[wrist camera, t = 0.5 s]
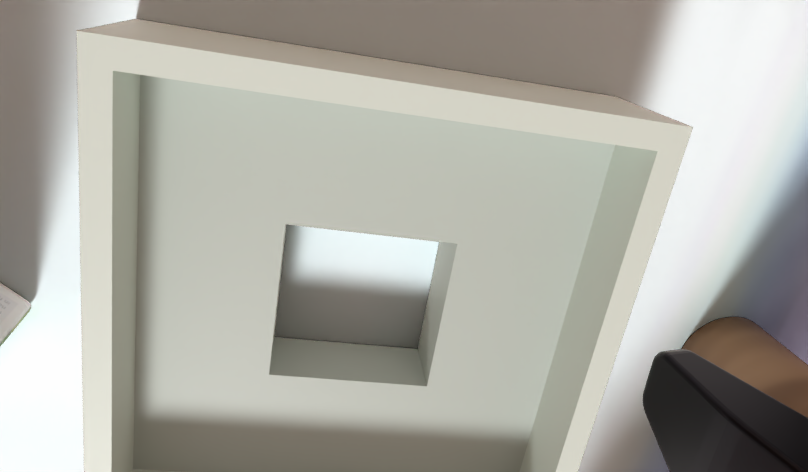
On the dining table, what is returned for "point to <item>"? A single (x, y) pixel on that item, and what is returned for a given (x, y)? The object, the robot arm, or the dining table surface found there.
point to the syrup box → (11, 311)
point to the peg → (754, 359)
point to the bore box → (355, 212)
